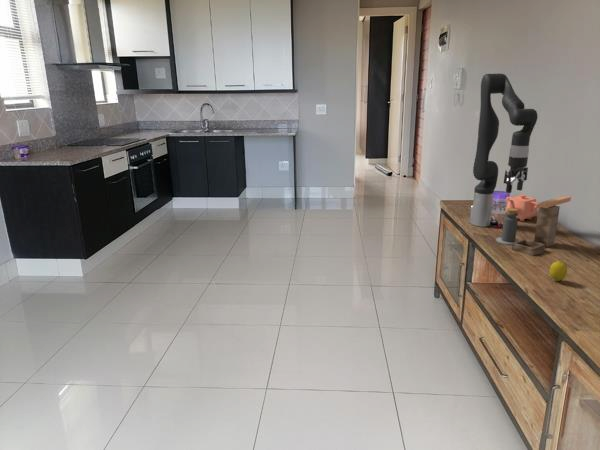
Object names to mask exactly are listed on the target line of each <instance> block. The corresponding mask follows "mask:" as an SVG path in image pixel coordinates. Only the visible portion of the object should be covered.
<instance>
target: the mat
mask: <svg viewBox="0 0 600 450" xmlns="http://www.w3.org/2000/svg"><path fill="white" fill-rule="evenodd" d="M501 239H502V236H501V237H500V236H499V237H496V239H495V241H496V242H497V243H498V244H502V245H507V246H512V243H515V242H517V241H520V240H519V239H517V238H515V241H514V242H505V241H502V240H501Z"/></svg>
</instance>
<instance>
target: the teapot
mask: <svg viewBox="0 0 600 450" xmlns="http://www.w3.org/2000/svg"><path fill="white" fill-rule="evenodd" d="M505 200H506V203H507V204H506V208H505V213H506V212H507V208H515V209H517V210H518V211H517V213H518V216H516V218H517V219H518V222H525V219H526V220H532V218H533V217H535V216H536V214H537V212H538V211H537V210H538V209H539V206H540V202H537V198H535V197H532V196H527V195H526V194H519V195H517V196H513V197H512V196H507V197H506V198H505Z"/></svg>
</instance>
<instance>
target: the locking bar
mask: <svg viewBox="0 0 600 450" xmlns="http://www.w3.org/2000/svg"><path fill="white" fill-rule="evenodd" d="M571 199H572V196H568V195H562V196H558V197H554V198H551V199H548V200H544V201H540V202H539V204H540V206H539V207H542V208H549V207H552V206H559V205H562V204H565V203H569V202H571ZM539 207H538V208H539Z"/></svg>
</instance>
